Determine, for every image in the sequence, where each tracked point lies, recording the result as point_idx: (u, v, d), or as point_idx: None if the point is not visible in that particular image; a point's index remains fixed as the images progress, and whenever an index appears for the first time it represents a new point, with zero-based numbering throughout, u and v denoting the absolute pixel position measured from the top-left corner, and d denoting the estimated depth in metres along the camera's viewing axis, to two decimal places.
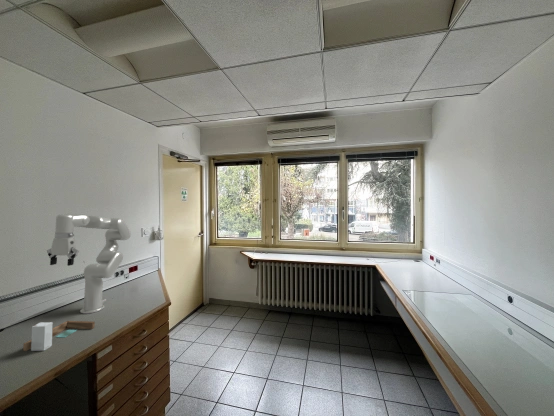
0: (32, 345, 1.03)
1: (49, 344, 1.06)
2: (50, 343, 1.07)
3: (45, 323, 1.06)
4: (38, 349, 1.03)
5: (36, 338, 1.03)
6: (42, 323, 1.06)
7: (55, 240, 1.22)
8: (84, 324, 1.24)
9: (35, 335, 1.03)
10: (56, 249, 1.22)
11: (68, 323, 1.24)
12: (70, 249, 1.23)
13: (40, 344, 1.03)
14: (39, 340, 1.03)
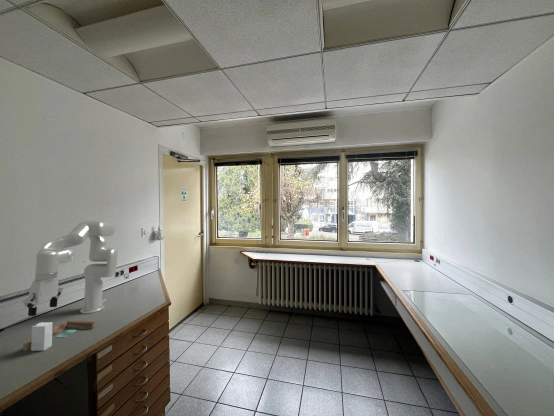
0: (32, 345, 1.03)
1: (49, 344, 1.06)
2: (50, 343, 1.07)
3: (45, 323, 1.06)
4: (38, 349, 1.03)
5: (36, 338, 1.03)
6: (42, 323, 1.06)
7: (45, 283, 1.04)
8: (84, 324, 1.24)
9: (35, 335, 1.03)
10: (46, 292, 1.04)
11: (68, 323, 1.24)
12: None
13: (40, 344, 1.03)
14: (39, 340, 1.03)
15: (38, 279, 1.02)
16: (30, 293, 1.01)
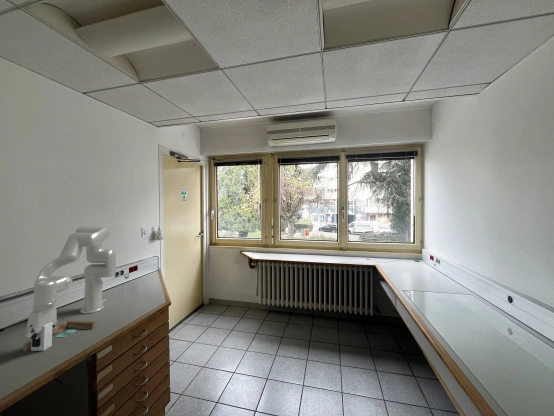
0: None
1: (49, 344, 1.06)
2: (50, 343, 1.07)
3: None
4: (38, 349, 1.03)
5: None
6: None
7: (43, 314, 1.03)
8: (84, 324, 1.24)
9: (35, 335, 1.03)
10: (44, 323, 1.04)
11: (68, 323, 1.24)
12: None
13: (40, 344, 1.03)
14: None
15: (36, 310, 1.02)
16: (28, 325, 1.00)
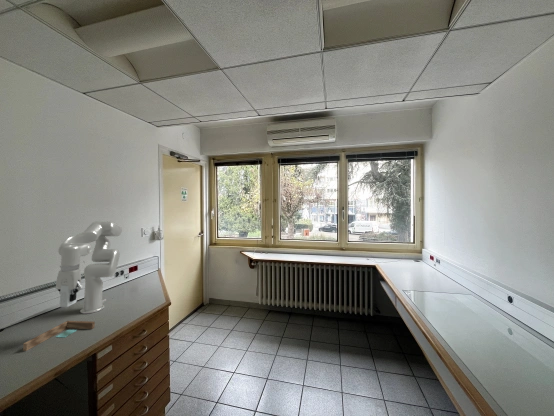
0: (68, 301, 1.16)
1: None
2: None
3: None
4: (72, 303, 1.19)
5: None
6: None
7: None
8: (84, 324, 1.24)
9: None
10: None
11: (68, 323, 1.24)
12: None
13: None
14: None
15: (77, 268, 1.19)
16: (75, 281, 1.17)
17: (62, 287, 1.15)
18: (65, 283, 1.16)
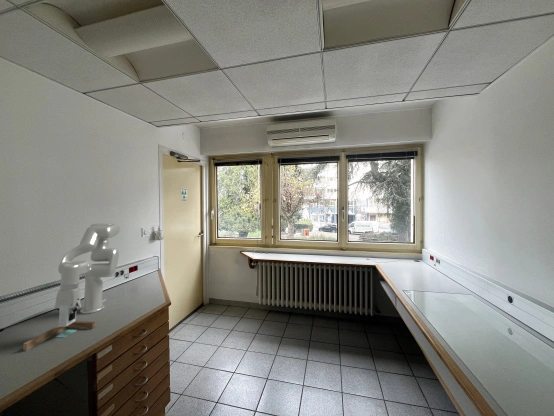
0: (67, 320, 1.16)
1: None
2: None
3: None
4: (71, 322, 1.19)
5: None
6: None
7: None
8: (84, 324, 1.24)
9: None
10: None
11: None
12: None
13: None
14: None
15: (76, 287, 1.19)
16: (75, 300, 1.17)
17: (61, 306, 1.15)
18: (65, 303, 1.16)
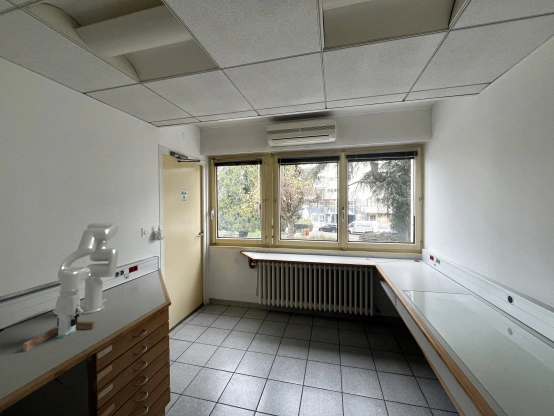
0: (67, 330, 1.16)
1: None
2: None
3: None
4: (71, 330, 1.19)
5: (70, 322, 1.18)
6: None
7: None
8: (84, 324, 1.24)
9: (69, 320, 1.17)
10: None
11: None
12: None
13: None
14: None
15: (76, 293, 1.19)
16: (75, 306, 1.17)
17: (60, 316, 1.15)
18: (64, 309, 1.16)
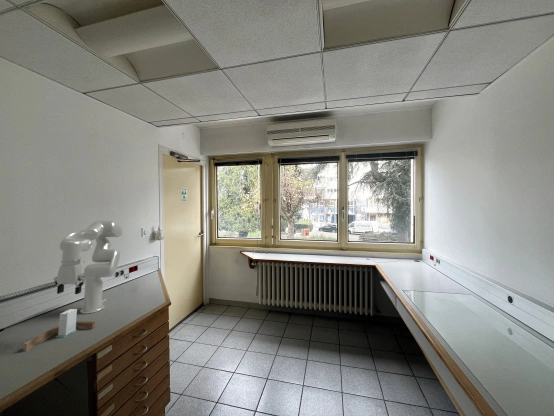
0: (67, 330, 1.16)
1: None
2: None
3: (68, 310, 1.19)
4: (71, 331, 1.19)
5: (70, 322, 1.18)
6: (66, 311, 1.18)
7: None
8: (84, 324, 1.24)
9: (70, 320, 1.17)
10: None
11: None
12: None
13: (73, 326, 1.20)
14: (73, 322, 1.19)
15: (78, 263, 1.20)
16: (77, 275, 1.18)
17: (61, 315, 1.16)
18: (66, 278, 1.17)
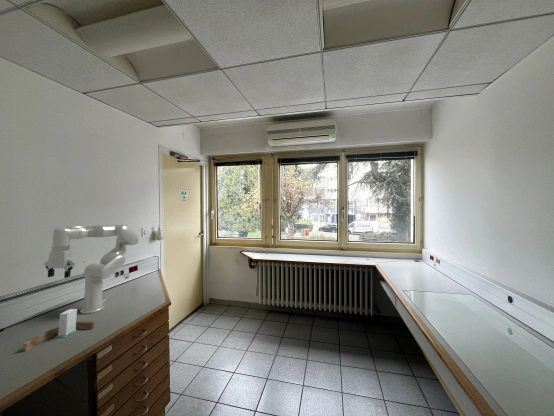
0: (67, 330, 1.16)
1: None
2: None
3: (68, 310, 1.19)
4: (71, 331, 1.19)
5: (70, 322, 1.18)
6: (66, 311, 1.18)
7: None
8: (84, 324, 1.24)
9: (70, 320, 1.18)
10: None
11: None
12: None
13: (73, 326, 1.20)
14: (73, 322, 1.19)
15: (67, 249, 1.28)
16: (66, 260, 1.26)
17: (61, 315, 1.16)
18: (56, 262, 1.25)
